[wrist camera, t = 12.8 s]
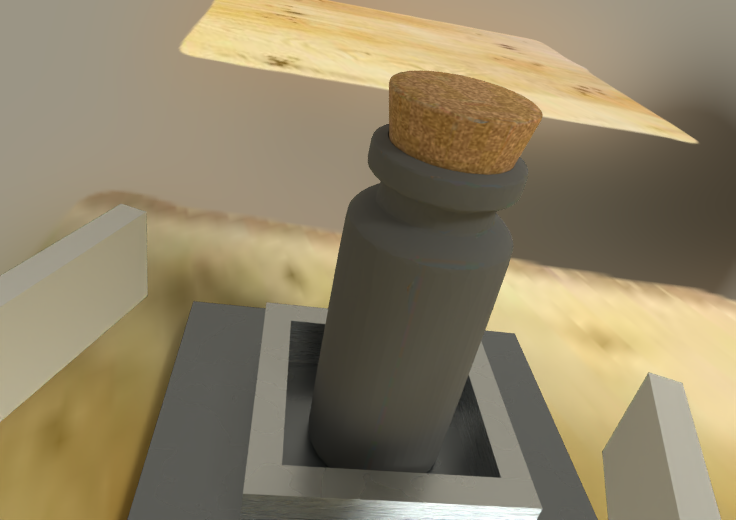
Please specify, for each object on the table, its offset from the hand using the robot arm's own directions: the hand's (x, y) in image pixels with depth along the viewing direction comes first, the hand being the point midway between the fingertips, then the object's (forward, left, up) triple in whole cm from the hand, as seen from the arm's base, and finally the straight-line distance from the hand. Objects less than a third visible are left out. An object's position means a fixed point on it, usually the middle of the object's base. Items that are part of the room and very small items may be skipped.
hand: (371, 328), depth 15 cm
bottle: (-2, -6, -10) cm, 12 cm away
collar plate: (-2, -6, -11) cm, 13 cm away
